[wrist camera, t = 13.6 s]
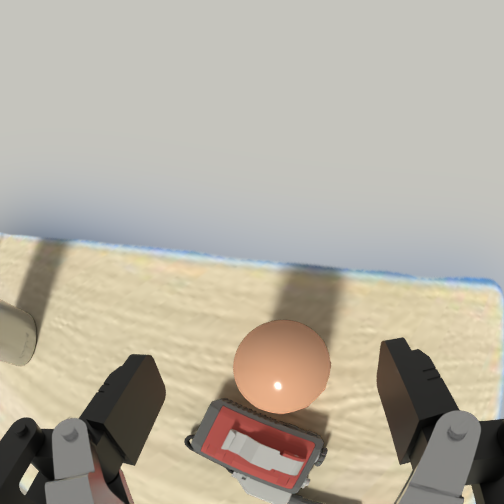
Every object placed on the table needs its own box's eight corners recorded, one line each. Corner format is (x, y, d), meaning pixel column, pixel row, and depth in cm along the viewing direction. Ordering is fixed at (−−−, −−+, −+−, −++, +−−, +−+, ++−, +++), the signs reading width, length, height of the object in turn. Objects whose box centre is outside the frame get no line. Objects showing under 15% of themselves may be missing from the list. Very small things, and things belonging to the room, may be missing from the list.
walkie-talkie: (181, 455, 25) (352, 519, 19) (163, 462, 21) (359, 535, 15) (213, 389, 28) (389, 452, 22) (199, 388, 24) (402, 460, 18)
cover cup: (248, 396, 27) (221, 398, 18) (265, 336, 30) (248, 310, 21) (311, 411, 25) (316, 422, 16) (327, 349, 28) (339, 330, 19)
